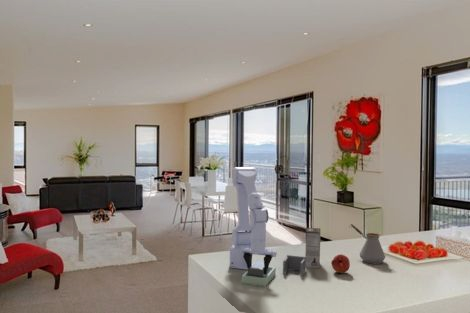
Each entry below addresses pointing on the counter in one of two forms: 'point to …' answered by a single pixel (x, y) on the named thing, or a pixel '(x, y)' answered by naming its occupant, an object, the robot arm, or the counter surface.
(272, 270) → the tray
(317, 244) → the coffee box
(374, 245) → the coffee pot
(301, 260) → the printer bay
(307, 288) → the counter surface
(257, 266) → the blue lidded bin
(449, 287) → the counter surface
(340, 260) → the fruit
